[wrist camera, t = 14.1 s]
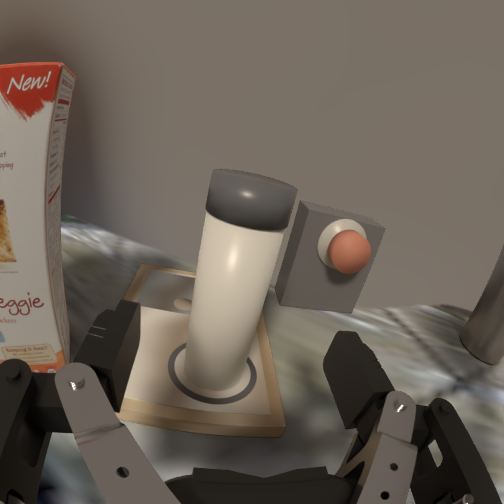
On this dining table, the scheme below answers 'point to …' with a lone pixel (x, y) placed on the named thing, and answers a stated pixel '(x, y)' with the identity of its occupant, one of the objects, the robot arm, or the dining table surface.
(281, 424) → the beige board with ring
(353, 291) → the button panel
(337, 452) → the dining table surface
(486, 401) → the dining table surface
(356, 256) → the button
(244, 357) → the white shaker grey cap
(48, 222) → the cracker box
